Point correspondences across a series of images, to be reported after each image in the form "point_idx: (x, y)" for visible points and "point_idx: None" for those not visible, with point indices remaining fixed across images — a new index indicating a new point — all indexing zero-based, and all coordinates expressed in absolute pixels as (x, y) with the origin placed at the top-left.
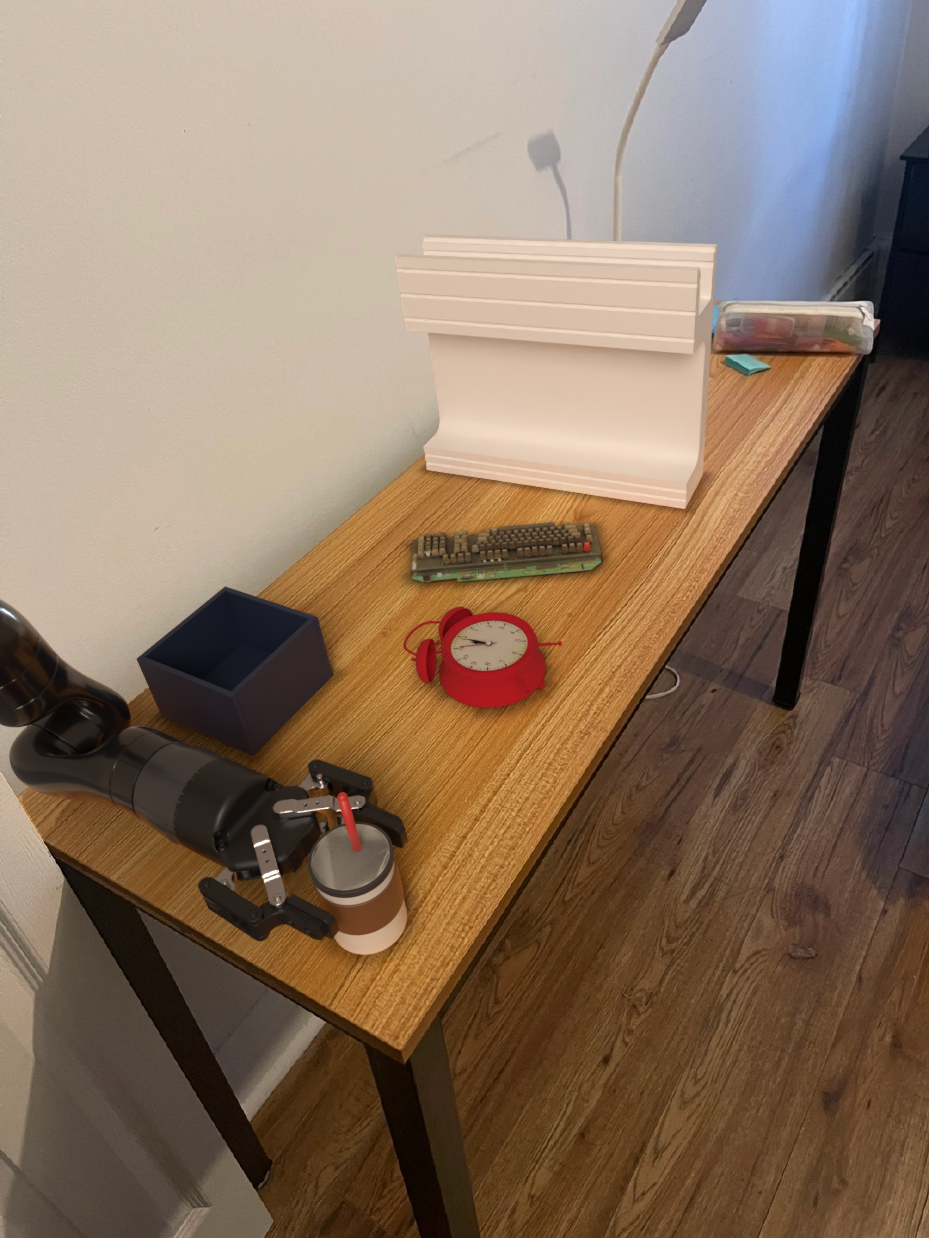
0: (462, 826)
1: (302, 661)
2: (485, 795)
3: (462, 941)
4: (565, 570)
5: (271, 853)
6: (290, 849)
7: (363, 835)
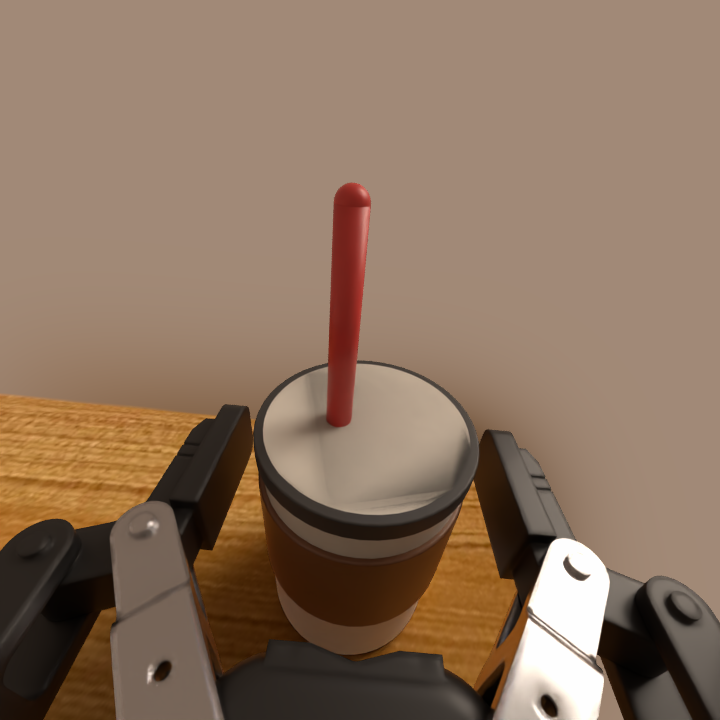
0: (113, 502)
1: None
2: (32, 493)
3: None
4: None
5: (507, 715)
6: (414, 669)
7: (297, 421)
